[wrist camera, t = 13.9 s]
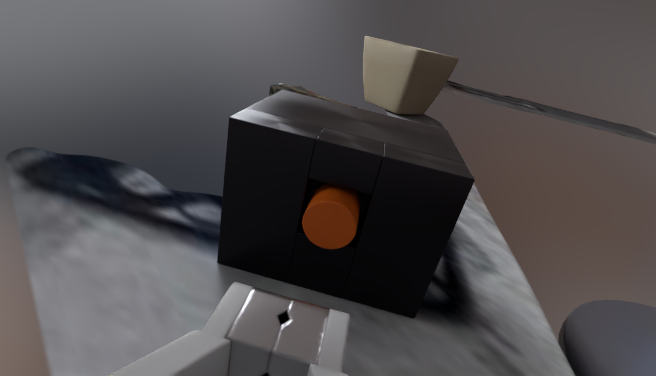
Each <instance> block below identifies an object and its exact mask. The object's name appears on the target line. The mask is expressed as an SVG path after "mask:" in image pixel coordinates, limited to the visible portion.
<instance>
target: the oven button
mask: <svg viewBox="0 0 656 376" xmlns="http://www.w3.org/2000/svg"><path fill="white" fill-rule="evenodd" d="M360 208H361V203H360V198H359V196H358V194H357V193H356V191H355V190H352V189H348V188H344V187H340V186H337V185H333V184H329V183H325V184H323V185H321V186H320V187H319V188H318V189H317V190H316V191H315V193H314V195H313V197H312V199H311V201H310V203H309V205H308V207H307V209H306V211H305V213H304V216H303V220H302V225H303V230H304V232H305V234H306V236H307V237H308V239H309V240H310V241H311V242H313V243H314V244H316V245H317V246H319V247H322V248H326V249H338V248H341V247H344V246H346V245H347V244H349V243H350V242H351V241H352V240H353V238H354V236H355V234H356V230H357V225H358V219H359V213H360Z"/></svg>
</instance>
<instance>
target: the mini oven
mask: <svg viewBox="0 0 656 376" xmlns="http://www.w3.org/2000/svg"><path fill="white" fill-rule="evenodd" d="M474 181H475V180H474V176H473V174H472V173H471V171H470V169H469V167H468V166H467V164H466V162H465V161H464V159H463V157H462V155H461V153H460V152H459V150H458V148H457V146H456V145H455V143H454V142H453V140H452V138H451V137H450V135H449V133H448V131H447V130H443V129H439V128H435V127H431V126H427V125H423V124H419V123H415V122H411V121H407V120H403V119H399V118H395V117H391V116H386V115H383V114H378V113H375V112H371V111H367V110H362V109H358V108H354V107H350V106H346V105H342V104H338V103H334V102H330V101H326V100H322V99H318V98H314V97H310V96H306V95H302V94H298V93H294V92H290V91H286V90H281V91H279V92H277V93H275V94H273V95H271V96H269V97H267V98H265V99H264V100H262V101H259V102H258V103H256V104H254V105H252V106H250V107H248V108H246V109H244V110H242V111H240V112H239V113H236V114H234V115H233V116H231V117H229V127H228V140H227V151H226V163H225V175H224V188H223V200H222V212H221V224H220V236H219V248H218V260H217V263H219V264H223V265H227V266H230V267H234V268H237V269H241V270H244V271H248V272H251V273H255V274H258V275H262V276H265V277H269V278H272V279H276V280H279V281H283V282H287V283H290V284H293V285H297V286H300V287H304V288H307V289H311V290H314V291H318V292H322V293H325V294H329V295H332V296H336V297H339V298H341V297H342V298H343V299H347V300H351V301H354V302H358V303H361V304H365V305H368V306H372V307H375V308H379V309H382V310H386V311H389V312H393V313H396V314H400V315H403V316H407V317H410V318H415V316H416V314H417V312H418V309H419V307H420V305H421V302H422V300H423V298H424V295H425V293H426V291H427V289H428V286H429V284H430V282H431V279H432V277H433V275H434V272H435V270H436V268H437V266H438V263H439V261H440V259H441V256H442V254H443V252H444V250H445V247H446V245H447V243H448V240H449V238H450V236H451V233H452V231H453V229H454V227H455V224H456V222H457V220H458V217H459V215H460V213H461V211H462V208H463V206H464V204H465V201H466V199H467V197H468V194H469V192H470V190H471V188H472V185H473V183H474ZM325 183H329V184H333V185H337V186H340V187H344V188H348V189H352V190H355V191H356V193H357V194H358V196H359V198H360V203H361V208H360V213H359V219H358V225H357V230H356V234H355V236H354V238H353V240H352V241H351V242H350V243H349V244H347V245H346V246H344V247H341V248H338V249H326V248H322V247H319V246H317V245H316V244H314V243H313V242H311V241H310V240H309V239H308V237H307V236H306V234H305V232H304V230H303V225H302V220H303V216H304V213H305V211H306V209H307V207H308V205H309V203H310V201H311V199H312V197H313V195H314V193H315V191H316V190H317V189H318V188H319V187H320V186H321V185H323V184H325Z"/></svg>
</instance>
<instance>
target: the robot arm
mask: <svg viewBox="0 0 656 376" xmlns="http://www.w3.org/2000/svg"><path fill="white" fill-rule="evenodd" d="M349 323H350V315H349V314H348V313H344V312H340V311H337V310H333V309H330V310H329V308H325V307H322V306H318V305H314V304H311V303H307V302H303V301H300V300H296V299H291V298H288V297H285V296H281V295H278V294H275V293H272V292H269V291H265V290H262V289H259V288H256V287H251V286H248V285H245V284H241V283H238V282H234V283H233V284H232V285H231V286H230V287H229V289H228V290H227V292H226V293H225V295H224V297H223V298H222V300H221V301H220V303H219V304H218V306H217V308H216V309H215V311H214V312H213V314H212V315H211V317H210V318H209V320H208V322H207V323H206V325H205V326H204V328H203V329H202V331H199V330H194V331H192V332H190V333H188V334H186V335H184V336H182V337H180V338H178V339H177V340H175V341H173V342H171V343H169V344H167V345H165V346H163V347H161V348H159V349H158V350H156V351H154V352H152V353H150V354H148V355H146V356H144V357H142V358H140V359H139V360H137V361H135V362H133V363H131V364H129V365H127V366H125V367H123V368H121V369H120V370H118V371H116V372H114V373H112V374H110V375H108V376H349V375H347V374H344V373H342V371H343V364H344V357H345V350H346V343H347V337H348V330H349Z"/></svg>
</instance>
